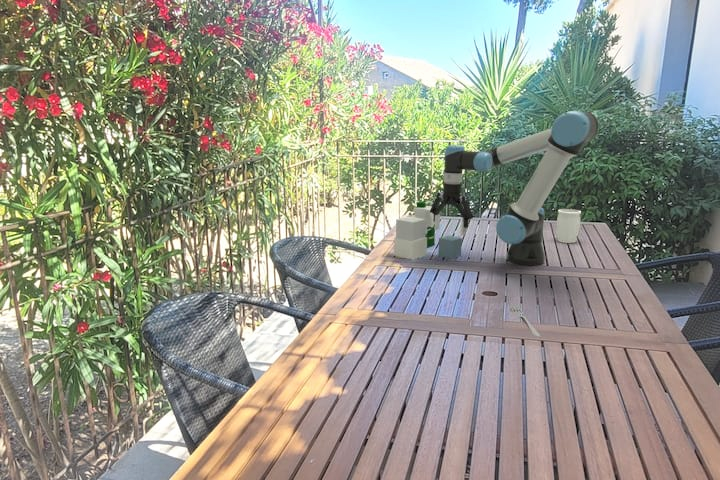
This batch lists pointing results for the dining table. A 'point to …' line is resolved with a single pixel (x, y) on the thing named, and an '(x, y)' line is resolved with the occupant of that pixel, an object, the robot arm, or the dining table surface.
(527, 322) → the fork
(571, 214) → the jar
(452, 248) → the slate block
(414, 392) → the dining table surface
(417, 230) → the tower top
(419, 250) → the tower base
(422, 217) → the milk carton
